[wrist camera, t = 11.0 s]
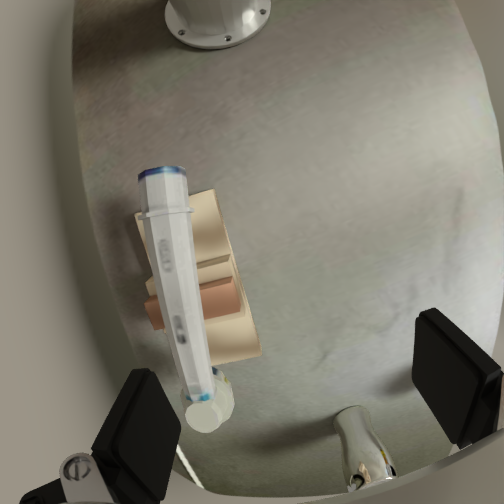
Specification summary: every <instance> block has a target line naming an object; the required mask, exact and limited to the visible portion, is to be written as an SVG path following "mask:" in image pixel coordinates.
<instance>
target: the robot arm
mask: <svg viewBox="0 0 504 504" xmlns="http://www.w3.org/2000/svg"><path fill="white" fill-rule="evenodd" d="M270 9H271V2H270V0H168V3H167V5H166V8H165V21H166V24H167V26H168V28H169V30H170V32H171V33H172V34H173V35H174V36H175V37H176V38H177V39H178V40H180V41H181V42H183V43H184V44H187V45H189V46H192V47H196V48H201V49H222V48H227V47H231V46H235V45H237V44H240V43H243V42H245V41H246V40H248V39H250V38H252V37H253V36H254V35H256V34H257V33H258V32H259V31H260V30H261V29H262V28H263V27H264V26H265V24H266V22H267V20H268V18H269V15H270ZM261 14H264V15H261ZM183 34H184V35H183ZM227 40H230V41H227ZM412 381H413V383H414V385H415V386H416V388H417V389H418V391H419V392H420V394H421V396H422V397H423V399H424V400H425V402H426V403H427V405H428V406H429V408H430V409H431V411H432V413H433V414H434V416H435V417H436V419H437V421H438V422H439V424H440V425H441V427H442V429H443V430H444V432H445V433H446V435H447V437H448V438H449V440H450V442H451V443H452V444H457V446H458V447H459V449H460V450H461V449H463V448H464V447H466V446H468V445H470V444H472V445H470V446H469V447H467V448H465V449H463V450H461V451H459V452H457V453H455V454H453V455H451V456H448V457H446V458H444V459H442V460H440V461H438V462H435V463H433V464H431V465H429V466H426V467H424V468H422V469H419V470H417V471H414V472H412V473H409V474H407V475H404V476H401V477H399V478H396V479H393V480H390V481H387V482H384V483H381V484H378V485H375V486H372V487H368V488H365V489H361V490H358V491H354V492H351V493H347V494H343V495H339V496H334V497H330V498H325V499H321V500H316V501H311V502H305V503H299V504H504V373H503V372H502V371H501V367H500V366H499V365H498V364H497V363H496V362H495V361H494V360H493V359H492V358H491V357H490V356H489V355H488V354H487V353H486V352H484V351H483V350H482V349H481V348H480V347H479V346H478V345H477V344H476V343H475V342H474V341H473V340H472V339H470V338H469V337H468V336H467V335H466V334H465V333H464V332H463V331H462V330H461V329H459V328H458V327H457V326H456V325H455V324H454V323H453V322H452V321H450V320H449V319H448V318H447V317H446V316H445V315H444V314H442V313H441V312H440V311H439V310H438V309H436V308H431V309H428V310H425V311H422V312H420V314H419V317H417V318H416V321H415V341H414V355H413V366H412ZM180 432H181V424H180V421H179V419H178V417H177V415H176V414H175V412H174V410H173V408H172V406H171V404H170V402H169V400H168V398H167V396H166V394H165V392H164V390H163V388H162V386H161V384H160V382H159V380H158V378H157V376H156V374H155V373H154V372H151V371H150V370H149V369H148V368H142V369H133V370H132V371H131V373H130V375H129V377H128V378H127V380H126V382H125V384H124V386H123V388H122V389H121V391H120V393H119V395H118V397H117V399H116V401H115V403H114V404H113V406H112V408H111V410H110V412H109V414H108V416H107V418H106V420H105V422H104V424H103V426H102V427H101V429H100V432H99V433H98V435H97V437H96V439H95V441H94V443H93V445H92V447H91V449H92V451H93V452H92V454H91V455H89V454H86V453H76V454H73V455H71V456H69V457H67V458H66V459H65V460H64V461H63V463H62V464H61V466H60V470H59V474H60V478H59V479H56V480H54V481H52V482H50V483H48V484H46V485H43V486H41V487H39V488H37V489H34V490H32V491H30V492H28V493H26V494H25V495H24V496H23V497H22V498H21V500H20V503H19V504H160V500H161V501H162V500H164V498H165V495H166V490H167V485H168V482H169V477H170V473H171V469H172V465H173V461H174V457H175V452H176V448H177V444H178V440H179V436H180Z"/></svg>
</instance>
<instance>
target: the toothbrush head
mask: <svg viewBox="0 0 504 504" xmlns="http://www.w3.org/2000/svg"><path fill="white" fill-rule="evenodd" d="M138 183H139V194H140V203H141V212H142V215H139V216H138V220H143V226H144V232H145V238H146V243H147V248H148V254H149V259H150V264H151V269H152V273H153V278H154V283H155V287H156V292H157V296H158V300H159V305H160V309H161V313H162V317H163V321H164V325H165V329H166V332H167V336H168V340H169V344H170V347H171V351H172V354H173V358H174V361H175V365H176V368H177V371H178V375H179V378H180V381H181V384H182V391H181V394H180V397H181V400H182V404H183V407H184V413H185V416H186V419H187V422H188V424H189V425H190V426H191V427H192V428H193V429H195V430H197V431H199V432H202V433H210V432H212V431H213V430H215V429H217V428H218V427H219V426H220V424H221V423H223V422H224V421H226V420H227V419H229V418H230V416H231V413H232V411H233V408H234V398H233V393H232V387H231V382H229V381H228V380H227V379H226V377H225V376H224V375H223V374H222V373H223V372H222V371H220V370H218V369H216V368H213V367H212V366H211V360H210V354H209V348H208V342H207V336H206V330H205V323H204V317H203V310H202V303H201V296H200V289H199V282H198V274H197V266H196V258H195V250H194V242H193V233H192V224H191V214H190V213H193V212H195V211H194V208H191V207H190V206H189V197H188V189H187V180H186V171H185V169H184V168H183V167H181V166H162V167H157V168H153V169H148V170H144V171H143V172H141V173H140V174H138Z"/></svg>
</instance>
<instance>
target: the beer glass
mask: <svg viewBox="0 0 504 504" xmlns="http://www.w3.org/2000/svg"><path fill="white" fill-rule="evenodd" d="M333 427H334V429H335V431H336V432H337V434H338V436H339V438H340V442H341V456H342V469H343V474H344V478H345V482H346V485H347V488H348V490H349V493H351V492H354V491H358V490H361V489H365V488H368V487H372V486H375V485H378V484H381V483H384V482H387V481H390V480H393V479H396V478H399V475H398V472H397V468H396V465H395V463H394V460H393V457H392V455H391V453H390V451H389V450H388V448H387V447H386V445H385V444H384V442H383V441H382V440H381V438H380V437H379V436H378V434H377V433H376V431H375V430H374V428H373V426H372V423H371V417H370V413H369V410H368V409H367V408H365V407H363V406H353V407H349V408H347V409H345V410H343V411H341V412H340V413H339V414H338V415H337V416H336V417H335V418H334V421H333Z"/></svg>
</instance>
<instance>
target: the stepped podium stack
mask: <svg viewBox="0 0 504 504" xmlns="http://www.w3.org/2000/svg"><path fill="white" fill-rule="evenodd" d="M188 197H189V206H190V207H191V208H194V211H195V212H193V213H190V214H191V224H192V233H193V242H194V250H195V258H196V266H197V274H198V282H199V289H200V296H201V303H202V310H203V317H204V323H205V330H206V336H207V342H208V348H209V354H210V360H211V366H212V365H218V364H223V363H228V362H233V361H238V360H243V359H248V358H253V357H257V356H262V347H261V344H260V340H259V337H258V334H257V331H256V328H255V324H254V321H253V318H252V315H251V311H250V308H249V305H248V301H247V298H246V295H245V292H244V288H243V285H242V282H241V278H240V275H239V272H238V268H237V265H236V262H235V258H234V255H233V251H232V248H231V245H230V241H229V238H228V234H227V231H226V228H225V224H224V221H223V217H222V214H221V210H220V207H219V203H218V200H217V196H216V193H215V189H211V190H207V191H204V192H201V193H197V194H194V195H191V196H188ZM139 215H142V212H139V213H136V214H134V216H135V219H136V222H137V225H138V229H139V232H140V235H141V238H142V241H143V244H144V247H145V250H146V253H147V256H148V259H149V254H148V248H147V243H146V238H145V232H144V226H143V220H138V216H139ZM149 262H150V259H149ZM150 265H151V264H150ZM145 285H146V287H147V290H148V293H149V295H150V297H149V298H148V299H147V300H146V302H145V303H144V306H145V308H146V311H147V313H148V316H149V318H150V321H151V323H152V325H153V328H154V330H159V329H163V330H164V332H165V334H166V333H167V332H166V329H165V325H164V321H163V317H162V313H161V309H160V305H159V300H158V296H157V292H156V287H155V283H154V278H153V275H152V276H151V277H150V278H149V279H148V280H147V281H146V282H145Z"/></svg>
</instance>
